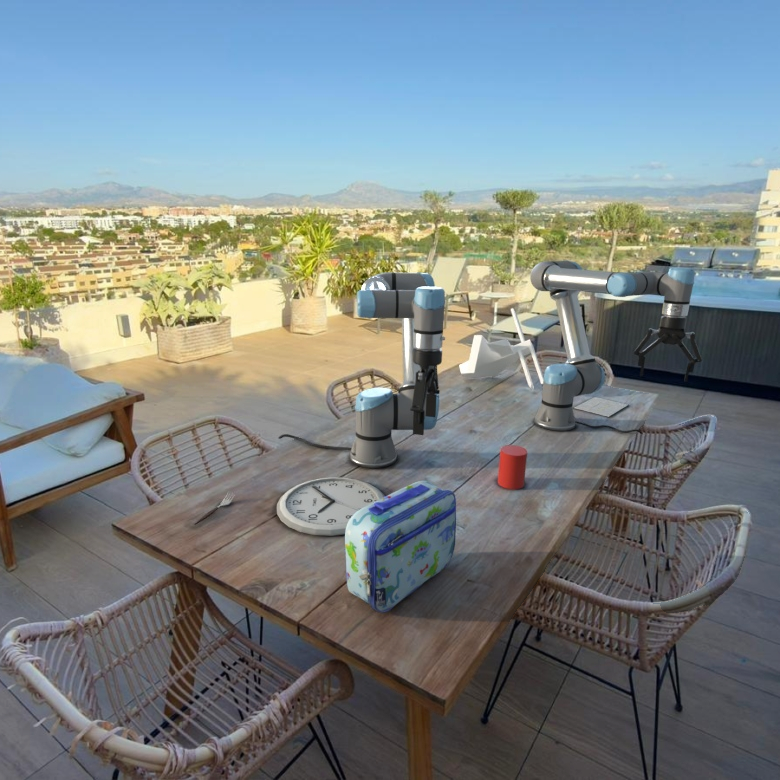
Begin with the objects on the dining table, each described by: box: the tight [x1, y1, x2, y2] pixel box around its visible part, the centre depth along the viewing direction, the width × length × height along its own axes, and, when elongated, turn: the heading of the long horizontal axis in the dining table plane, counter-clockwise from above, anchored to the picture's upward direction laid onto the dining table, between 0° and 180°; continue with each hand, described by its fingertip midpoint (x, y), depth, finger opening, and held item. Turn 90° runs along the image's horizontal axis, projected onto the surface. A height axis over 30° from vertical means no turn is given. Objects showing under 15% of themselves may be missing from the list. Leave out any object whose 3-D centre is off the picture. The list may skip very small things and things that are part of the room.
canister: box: [497, 444, 528, 490], centre depth 155 cm, size 8×8×11 cm
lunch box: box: [344, 480, 457, 614], centre depth 109 cm, size 26×11×21 cm, turn 135°
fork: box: [193, 490, 237, 526], centre depth 138 cm, size 3×16×2 cm, turn 160°
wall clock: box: [276, 476, 386, 537], centre depth 142 cm, size 30×2×30 cm
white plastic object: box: [458, 307, 544, 393], centre depth 255 cm, size 37×45×31 cm
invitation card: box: [573, 396, 629, 418], centre depth 226 cm, size 21×1×15 cm
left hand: (424, 425), depth 141 cm, fingers open, 13 cm apart
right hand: (662, 378), depth 178 cm, fingers open, 13 cm apart
